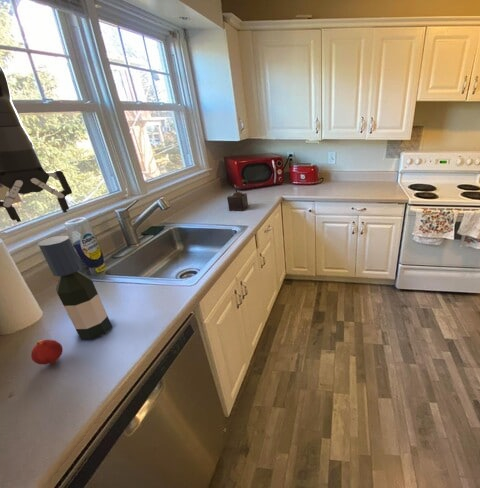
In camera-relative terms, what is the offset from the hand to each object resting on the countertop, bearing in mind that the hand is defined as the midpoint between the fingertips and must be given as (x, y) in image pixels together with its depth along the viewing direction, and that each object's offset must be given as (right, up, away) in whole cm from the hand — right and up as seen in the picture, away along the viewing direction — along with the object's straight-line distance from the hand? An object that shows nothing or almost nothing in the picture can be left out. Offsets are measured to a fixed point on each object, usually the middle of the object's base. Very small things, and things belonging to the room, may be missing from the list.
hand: (42, 216), depth 70 cm
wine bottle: (0, -34, +16) cm, 37 cm away
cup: (0, -14, +7) cm, 16 cm away
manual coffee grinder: (+12, +19, +124) cm, 126 cm away
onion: (-3, -39, +5) cm, 39 cm away
